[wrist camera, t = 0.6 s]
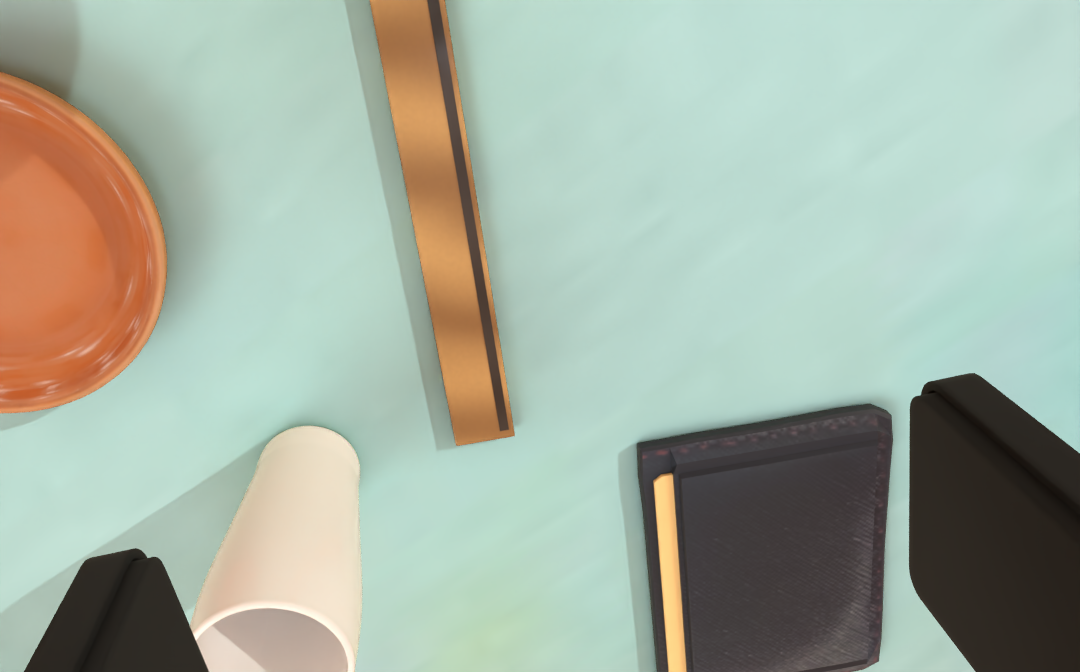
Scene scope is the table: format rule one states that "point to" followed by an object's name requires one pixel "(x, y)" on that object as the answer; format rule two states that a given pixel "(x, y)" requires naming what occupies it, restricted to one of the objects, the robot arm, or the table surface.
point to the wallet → (769, 543)
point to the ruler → (444, 212)
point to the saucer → (70, 253)
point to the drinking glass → (288, 564)
